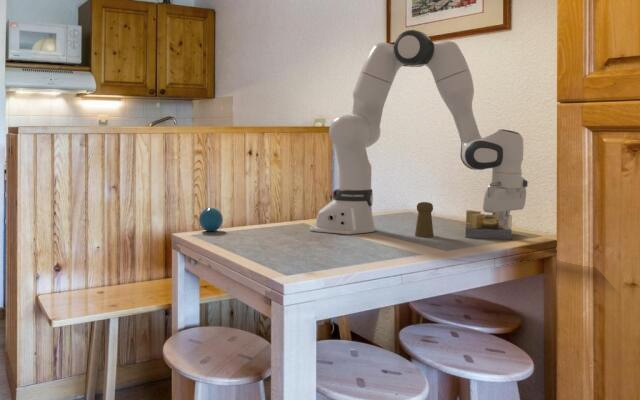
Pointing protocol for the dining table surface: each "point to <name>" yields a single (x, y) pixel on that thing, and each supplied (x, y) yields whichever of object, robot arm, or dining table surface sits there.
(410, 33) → the robot arm
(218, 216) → the ball
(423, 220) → the cork
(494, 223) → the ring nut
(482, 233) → the housing
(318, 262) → the dining table surface
